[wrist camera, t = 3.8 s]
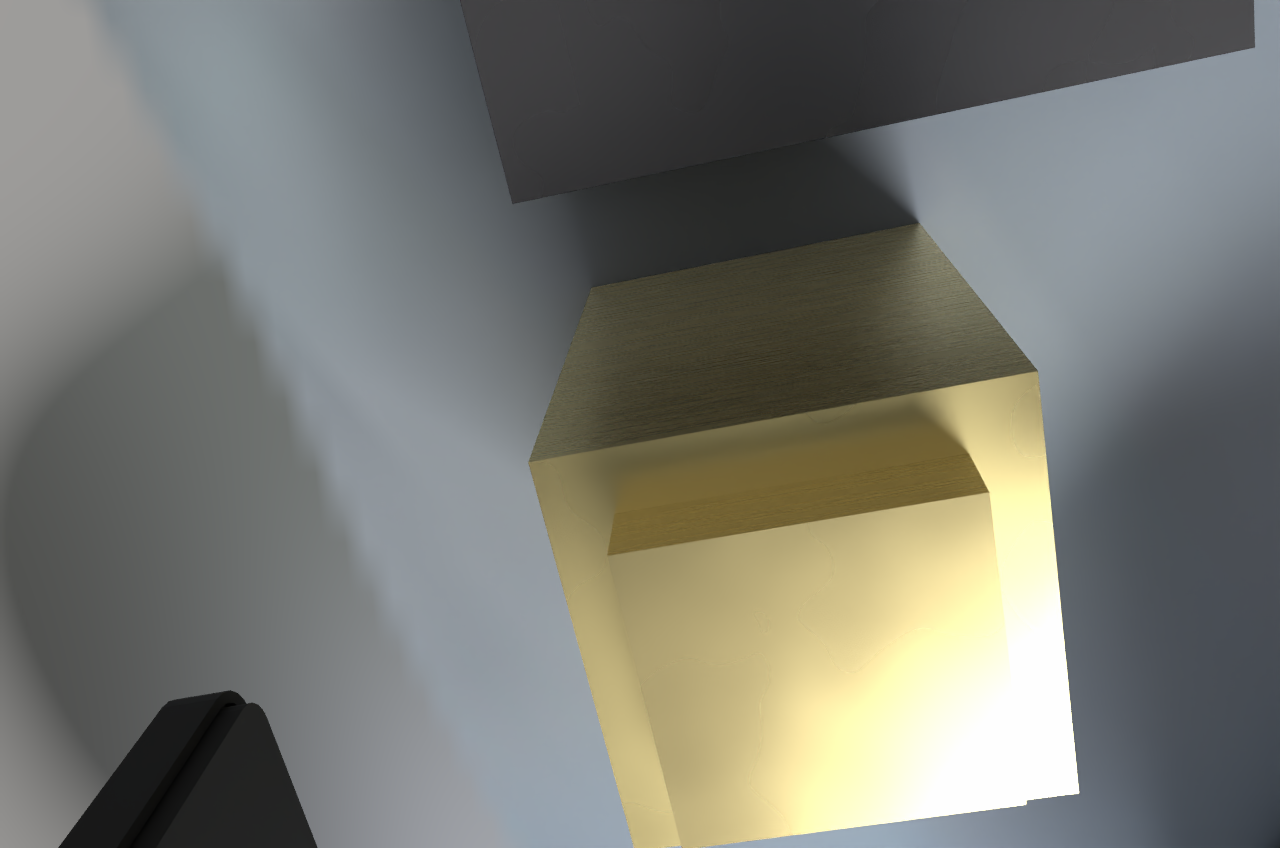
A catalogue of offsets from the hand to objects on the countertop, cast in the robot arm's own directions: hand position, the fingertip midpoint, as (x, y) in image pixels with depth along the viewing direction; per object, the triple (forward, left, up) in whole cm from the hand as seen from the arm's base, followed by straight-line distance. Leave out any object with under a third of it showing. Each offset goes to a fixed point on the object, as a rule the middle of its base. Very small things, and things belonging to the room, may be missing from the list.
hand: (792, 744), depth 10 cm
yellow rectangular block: (0, 0, -7) cm, 7 cm away
